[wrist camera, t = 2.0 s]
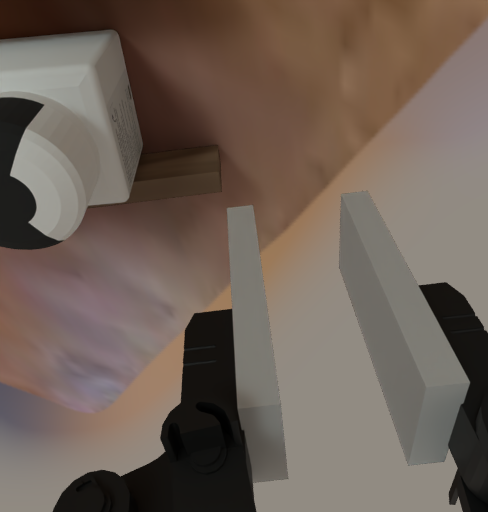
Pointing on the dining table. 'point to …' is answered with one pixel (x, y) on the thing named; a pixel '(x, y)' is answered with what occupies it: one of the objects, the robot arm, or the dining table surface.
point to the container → (63, 134)
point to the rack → (175, 175)
